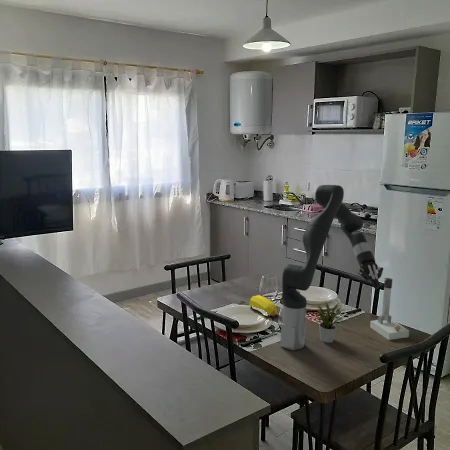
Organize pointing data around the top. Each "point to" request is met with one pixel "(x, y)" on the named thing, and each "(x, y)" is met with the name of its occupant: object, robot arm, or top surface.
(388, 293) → the press lever
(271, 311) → the yellow curved elongated piece
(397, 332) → the press base
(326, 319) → the house plant
